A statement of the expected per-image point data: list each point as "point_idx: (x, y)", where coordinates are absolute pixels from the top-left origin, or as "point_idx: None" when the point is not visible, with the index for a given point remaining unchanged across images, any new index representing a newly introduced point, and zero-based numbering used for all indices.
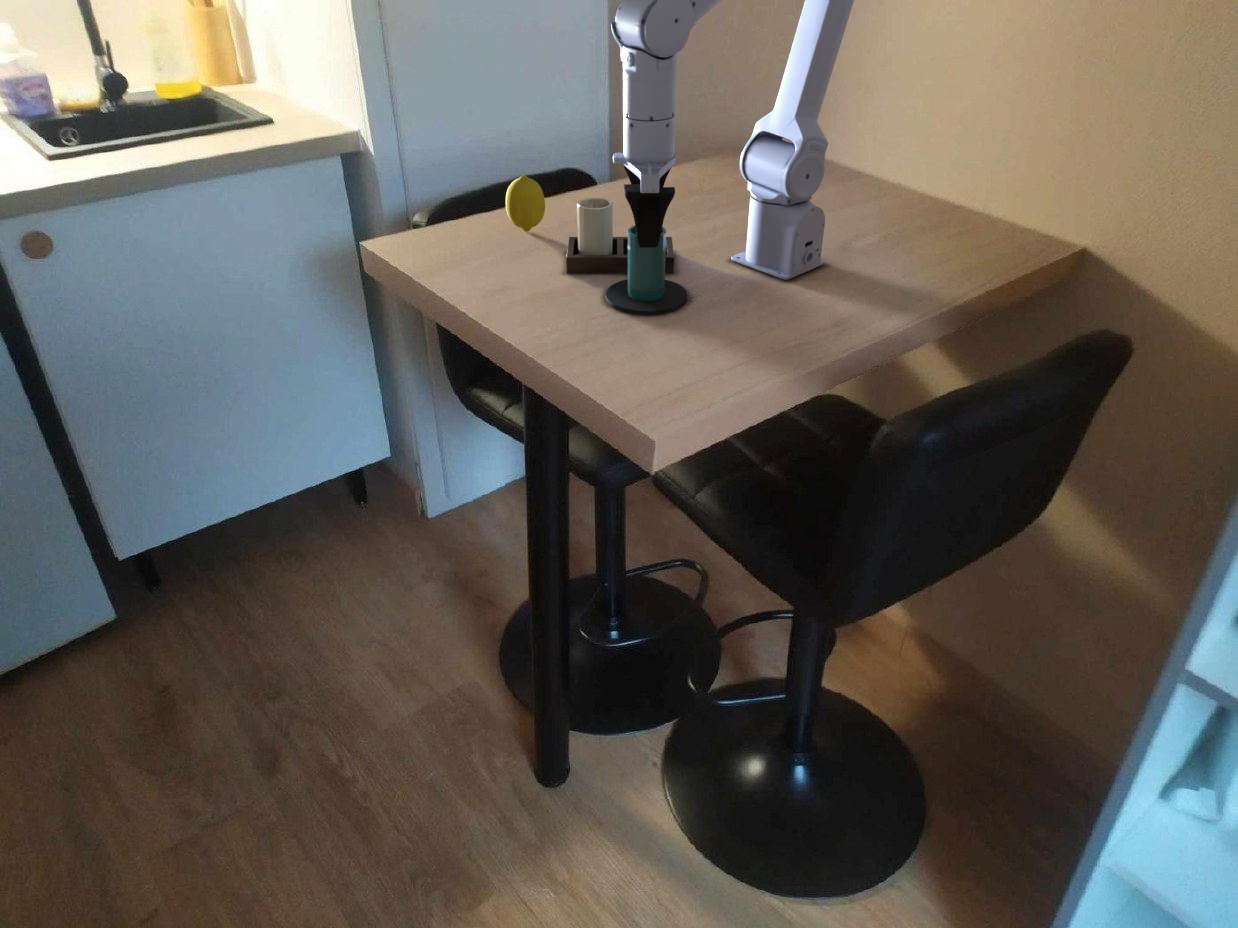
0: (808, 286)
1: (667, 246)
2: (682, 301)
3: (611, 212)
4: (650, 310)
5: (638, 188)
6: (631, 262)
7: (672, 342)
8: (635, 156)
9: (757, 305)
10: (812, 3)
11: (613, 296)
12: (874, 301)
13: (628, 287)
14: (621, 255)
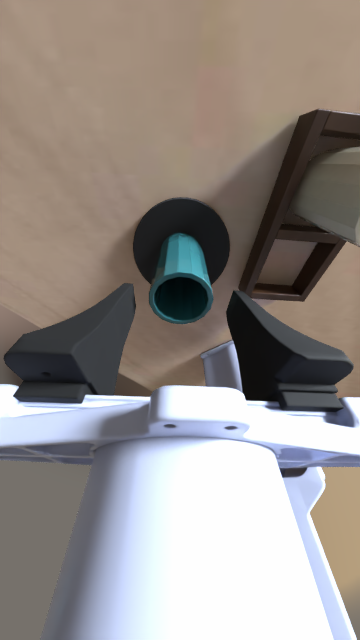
0: (190, 361)
1: (277, 295)
2: None
3: (350, 242)
4: (135, 256)
5: (46, 378)
6: (165, 255)
7: (76, 269)
8: (91, 477)
9: (161, 335)
10: None
11: (175, 210)
12: (166, 379)
13: (175, 236)
14: (274, 236)
